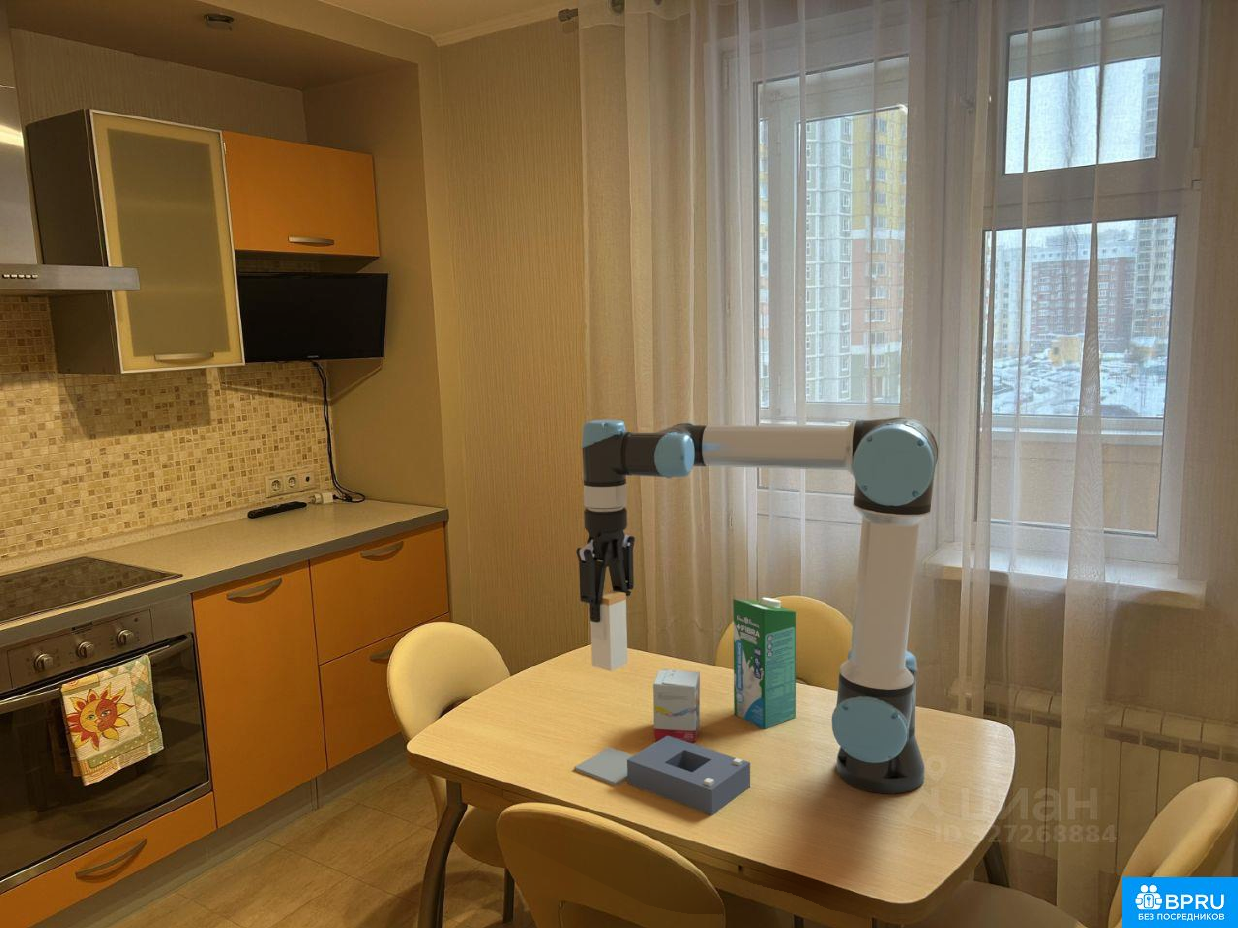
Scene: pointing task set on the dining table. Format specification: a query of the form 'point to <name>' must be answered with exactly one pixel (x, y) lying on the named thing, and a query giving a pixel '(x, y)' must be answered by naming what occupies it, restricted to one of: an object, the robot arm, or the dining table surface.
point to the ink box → (676, 704)
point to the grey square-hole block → (689, 774)
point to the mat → (606, 766)
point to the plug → (611, 633)
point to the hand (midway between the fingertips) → (608, 633)
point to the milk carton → (764, 662)
